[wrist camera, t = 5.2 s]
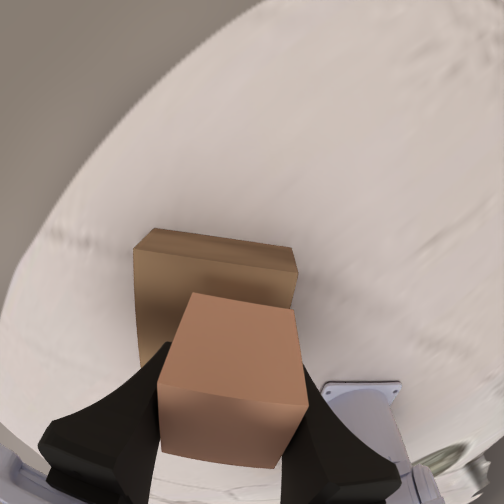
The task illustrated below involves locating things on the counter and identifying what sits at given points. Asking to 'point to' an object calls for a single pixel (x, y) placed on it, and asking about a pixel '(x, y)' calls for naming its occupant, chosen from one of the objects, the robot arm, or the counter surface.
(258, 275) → the walnut base block
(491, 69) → the counter surface
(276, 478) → the counter surface
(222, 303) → the terracotta block
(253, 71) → the counter surface
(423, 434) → the counter surface
